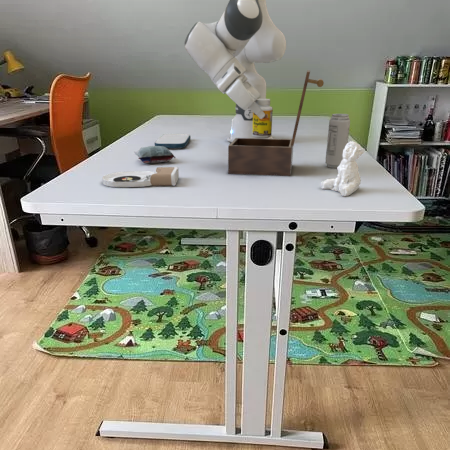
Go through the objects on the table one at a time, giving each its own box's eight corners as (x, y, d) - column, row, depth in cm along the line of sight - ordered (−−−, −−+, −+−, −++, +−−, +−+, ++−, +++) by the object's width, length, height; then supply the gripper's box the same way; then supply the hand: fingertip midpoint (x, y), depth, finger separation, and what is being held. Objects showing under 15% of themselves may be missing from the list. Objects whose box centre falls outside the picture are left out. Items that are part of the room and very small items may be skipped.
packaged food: (135, 160, 149) (133, 144, 147) (170, 158, 152) (170, 142, 150) (139, 166, 142) (137, 149, 139) (176, 163, 145) (175, 147, 143)
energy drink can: (347, 168, 138) (353, 115, 131) (328, 168, 137) (333, 116, 131) (341, 164, 143) (347, 113, 136) (322, 164, 143) (327, 113, 136)
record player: (173, 175, 117) (96, 176, 117) (174, 187, 118) (97, 188, 119) (178, 165, 127) (107, 166, 128) (179, 176, 129) (109, 177, 129)
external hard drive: (163, 138, 187) (163, 133, 186) (191, 138, 186) (191, 133, 185) (153, 149, 165) (152, 143, 165) (184, 149, 165) (184, 143, 164)
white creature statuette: (318, 188, 117) (322, 140, 112) (343, 183, 121) (348, 137, 116) (344, 197, 110) (350, 145, 104) (370, 192, 114) (377, 142, 108)
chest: (228, 173, 132) (228, 145, 128) (235, 163, 144) (235, 137, 140) (290, 176, 129) (291, 147, 126) (292, 165, 141) (293, 139, 138)
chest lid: (306, 71, 117) (326, 75, 116) (307, 70, 129) (324, 73, 128) (290, 145, 125) (308, 149, 125) (292, 137, 138) (308, 140, 137)
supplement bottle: (249, 137, 131) (250, 99, 126) (255, 135, 136) (256, 98, 131) (268, 138, 129) (269, 100, 125) (273, 136, 134) (275, 98, 129)
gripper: (229, 84, 137) (260, 119, 140) (216, 88, 119) (252, 128, 122) (244, 67, 135) (275, 103, 137) (233, 69, 116) (270, 111, 119)
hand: (264, 115), depth 130 cm, fingers closed on supplement bottle, 5 cm apart
